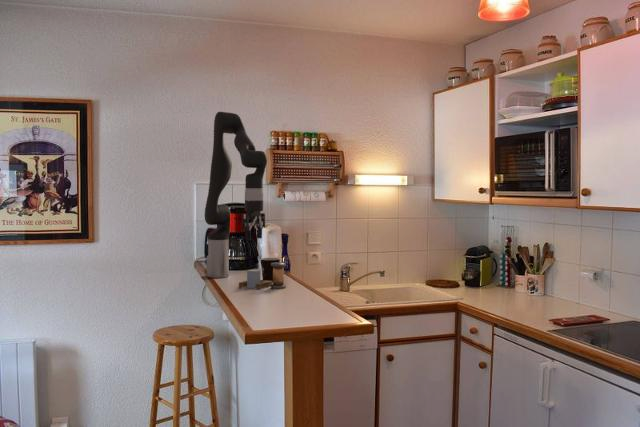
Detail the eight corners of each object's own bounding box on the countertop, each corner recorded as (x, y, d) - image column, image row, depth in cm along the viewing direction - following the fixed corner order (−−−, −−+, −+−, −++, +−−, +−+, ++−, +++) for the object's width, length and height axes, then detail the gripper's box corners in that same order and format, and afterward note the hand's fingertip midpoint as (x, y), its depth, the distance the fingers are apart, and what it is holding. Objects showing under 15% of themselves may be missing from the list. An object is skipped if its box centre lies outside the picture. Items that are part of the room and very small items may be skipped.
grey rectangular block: (247, 287, 220) (247, 270, 219) (252, 286, 223) (252, 269, 223) (255, 288, 218) (255, 271, 218) (260, 286, 222) (260, 270, 221)
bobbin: (268, 288, 219) (268, 263, 218) (275, 285, 224) (275, 262, 224) (281, 289, 216) (281, 264, 216) (288, 287, 221) (288, 263, 221)
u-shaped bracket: (239, 287, 220) (239, 282, 220) (252, 283, 229) (252, 279, 229) (259, 289, 216) (260, 284, 215) (272, 285, 225) (272, 280, 225)
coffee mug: (278, 283, 231) (279, 260, 230) (258, 283, 231) (259, 260, 231) (281, 279, 242) (281, 257, 242) (262, 278, 243) (262, 256, 242)
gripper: (255, 199, 227) (255, 237, 228) (236, 199, 214) (236, 239, 215) (270, 199, 224) (270, 238, 225) (252, 199, 211) (252, 240, 212)
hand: (253, 239), depth 220 cm, fingers open, 8 cm apart
